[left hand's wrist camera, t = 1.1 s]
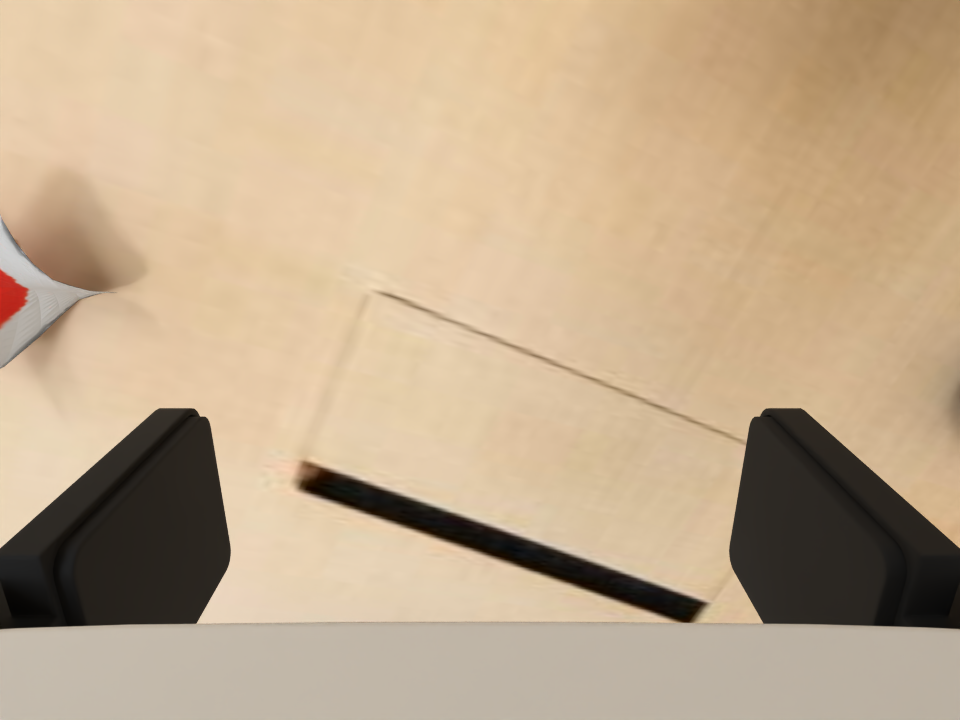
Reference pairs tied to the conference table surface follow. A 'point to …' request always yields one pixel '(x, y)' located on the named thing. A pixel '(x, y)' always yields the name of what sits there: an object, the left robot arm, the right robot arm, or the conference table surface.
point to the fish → (28, 299)
